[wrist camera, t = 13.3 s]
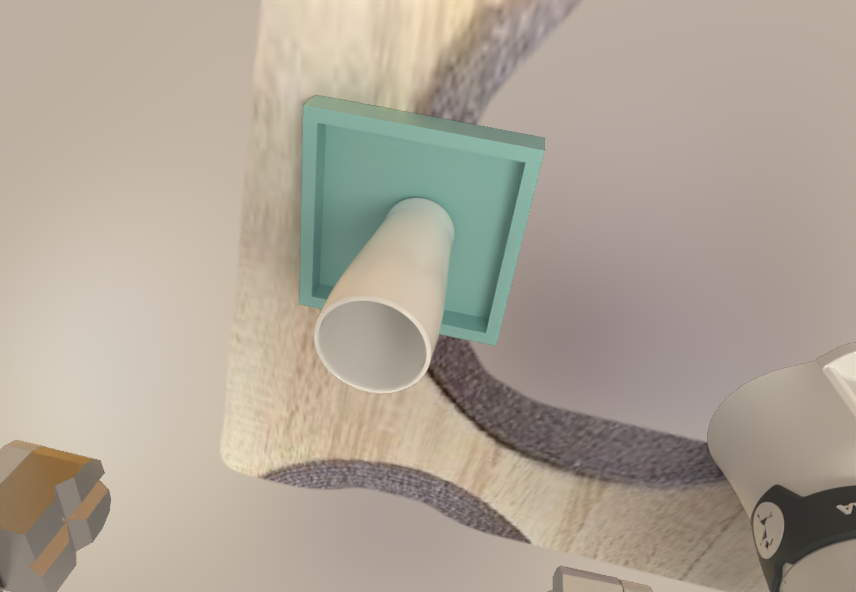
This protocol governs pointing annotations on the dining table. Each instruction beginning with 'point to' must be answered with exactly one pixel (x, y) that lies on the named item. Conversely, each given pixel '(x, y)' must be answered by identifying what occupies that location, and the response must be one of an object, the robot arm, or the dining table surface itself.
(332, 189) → the tray
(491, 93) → the dining table surface
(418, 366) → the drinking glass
